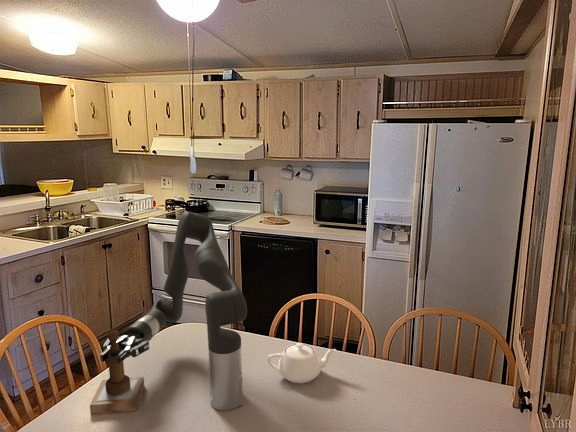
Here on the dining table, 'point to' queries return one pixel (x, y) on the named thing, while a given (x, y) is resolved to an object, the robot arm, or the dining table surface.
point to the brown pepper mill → (116, 368)
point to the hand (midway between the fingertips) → (109, 359)
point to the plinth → (117, 398)
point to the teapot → (300, 362)
